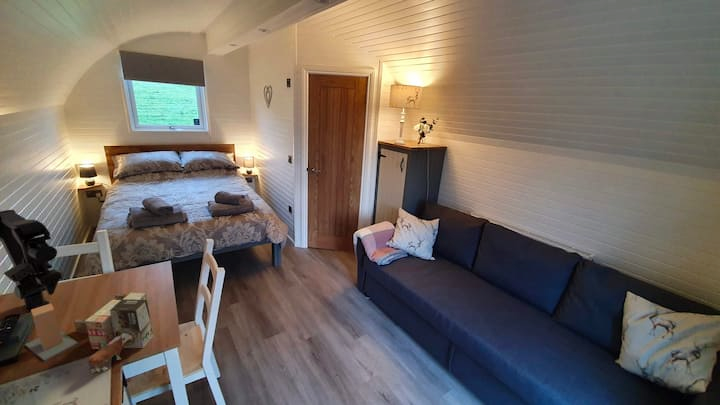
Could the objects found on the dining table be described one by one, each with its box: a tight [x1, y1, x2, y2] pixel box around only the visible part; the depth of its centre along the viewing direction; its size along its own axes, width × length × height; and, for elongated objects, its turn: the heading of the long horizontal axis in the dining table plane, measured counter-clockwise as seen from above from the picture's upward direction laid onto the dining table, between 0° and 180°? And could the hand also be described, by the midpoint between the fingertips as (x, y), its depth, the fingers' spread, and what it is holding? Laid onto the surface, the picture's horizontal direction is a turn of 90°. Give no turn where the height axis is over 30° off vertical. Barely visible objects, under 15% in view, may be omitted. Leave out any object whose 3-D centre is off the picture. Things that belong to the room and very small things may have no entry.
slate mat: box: [25, 330, 79, 362], centre depth 109 cm, size 14×9×1 cm, turn 64°
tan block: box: [31, 302, 63, 350], centre depth 107 cm, size 5×5×14 cm
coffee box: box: [110, 299, 154, 349], centre depth 111 cm, size 9×6×16 cm
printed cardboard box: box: [84, 292, 148, 350], centre depth 117 cm, size 21×6×12 cm, turn 179°
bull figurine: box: [87, 332, 133, 374], centre depth 103 cm, size 4×13×8 cm, turn 161°
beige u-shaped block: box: [73, 293, 128, 334], centre depth 124 cm, size 9×18×4 cm, turn 172°
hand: (45, 290), depth 119 cm, fingers open, 9 cm apart
